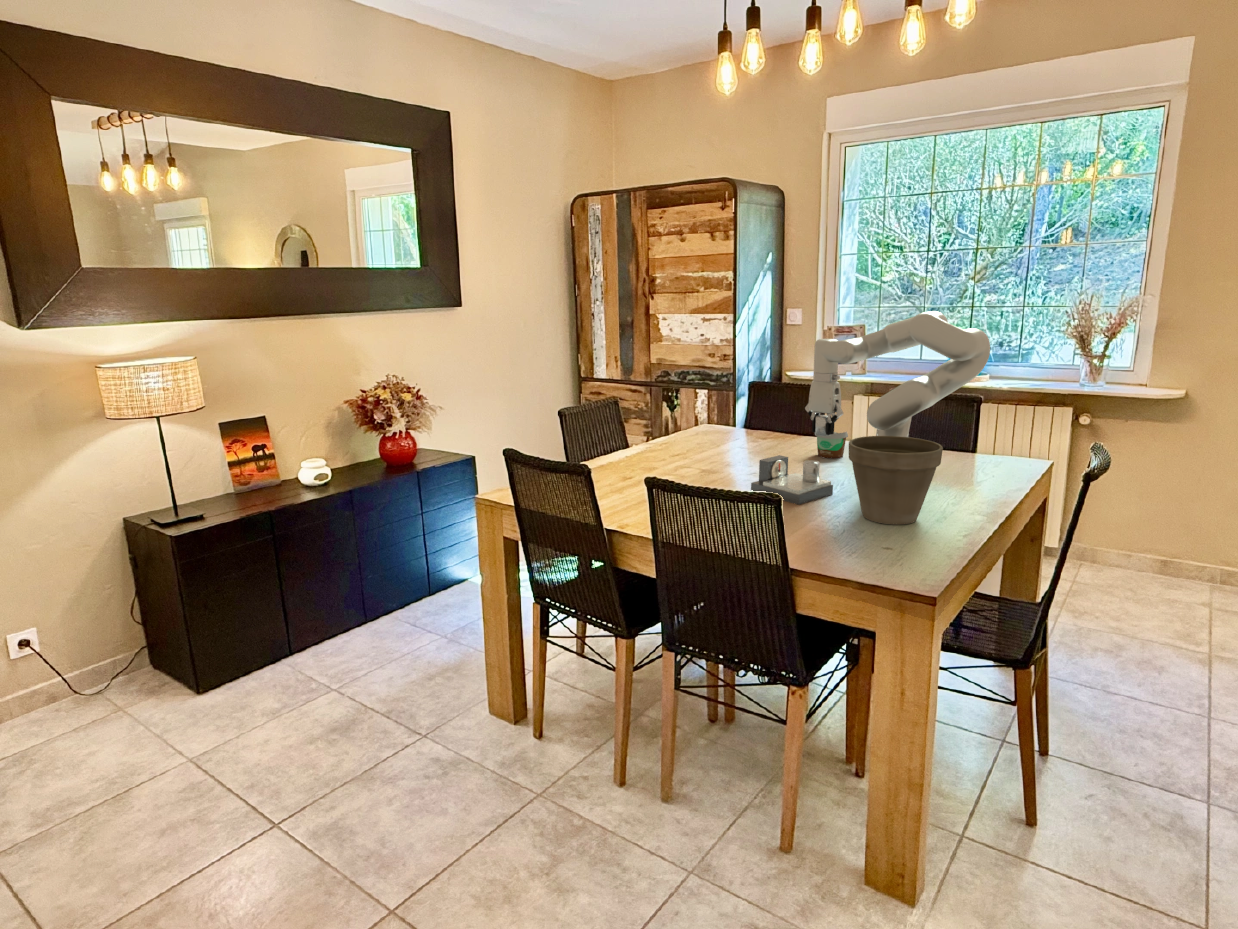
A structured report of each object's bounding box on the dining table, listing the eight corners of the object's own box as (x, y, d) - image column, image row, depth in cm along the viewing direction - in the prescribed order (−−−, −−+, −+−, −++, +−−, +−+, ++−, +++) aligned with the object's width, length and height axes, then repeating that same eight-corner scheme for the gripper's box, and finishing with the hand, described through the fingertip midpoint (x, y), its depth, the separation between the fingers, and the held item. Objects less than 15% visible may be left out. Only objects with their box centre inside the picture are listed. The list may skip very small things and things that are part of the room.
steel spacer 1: (822, 480, 237) (823, 462, 236) (812, 483, 234) (813, 464, 233) (809, 477, 241) (810, 459, 240) (799, 480, 238) (800, 462, 237)
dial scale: (832, 494, 237) (834, 463, 235) (798, 504, 227) (800, 472, 225) (784, 482, 252) (785, 453, 249) (750, 491, 241) (751, 461, 239)
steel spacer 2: (833, 434, 246) (834, 416, 244) (824, 436, 243) (824, 418, 241) (821, 432, 250) (822, 414, 248) (811, 434, 247) (812, 416, 245)
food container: (810, 457, 285) (811, 431, 283) (814, 454, 291) (815, 428, 288) (843, 460, 280) (845, 434, 277) (846, 457, 285) (848, 431, 283)
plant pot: (864, 499, 231) (868, 430, 226) (947, 514, 216) (954, 440, 211) (830, 520, 213) (834, 445, 207) (918, 537, 197) (925, 457, 192)
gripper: (854, 379, 237) (851, 435, 241) (812, 374, 251) (809, 427, 255) (839, 381, 233) (836, 438, 237) (796, 376, 246) (794, 430, 251)
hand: (822, 432), depth 246 cm, fingers closed on steel spacer 2, 5 cm apart
